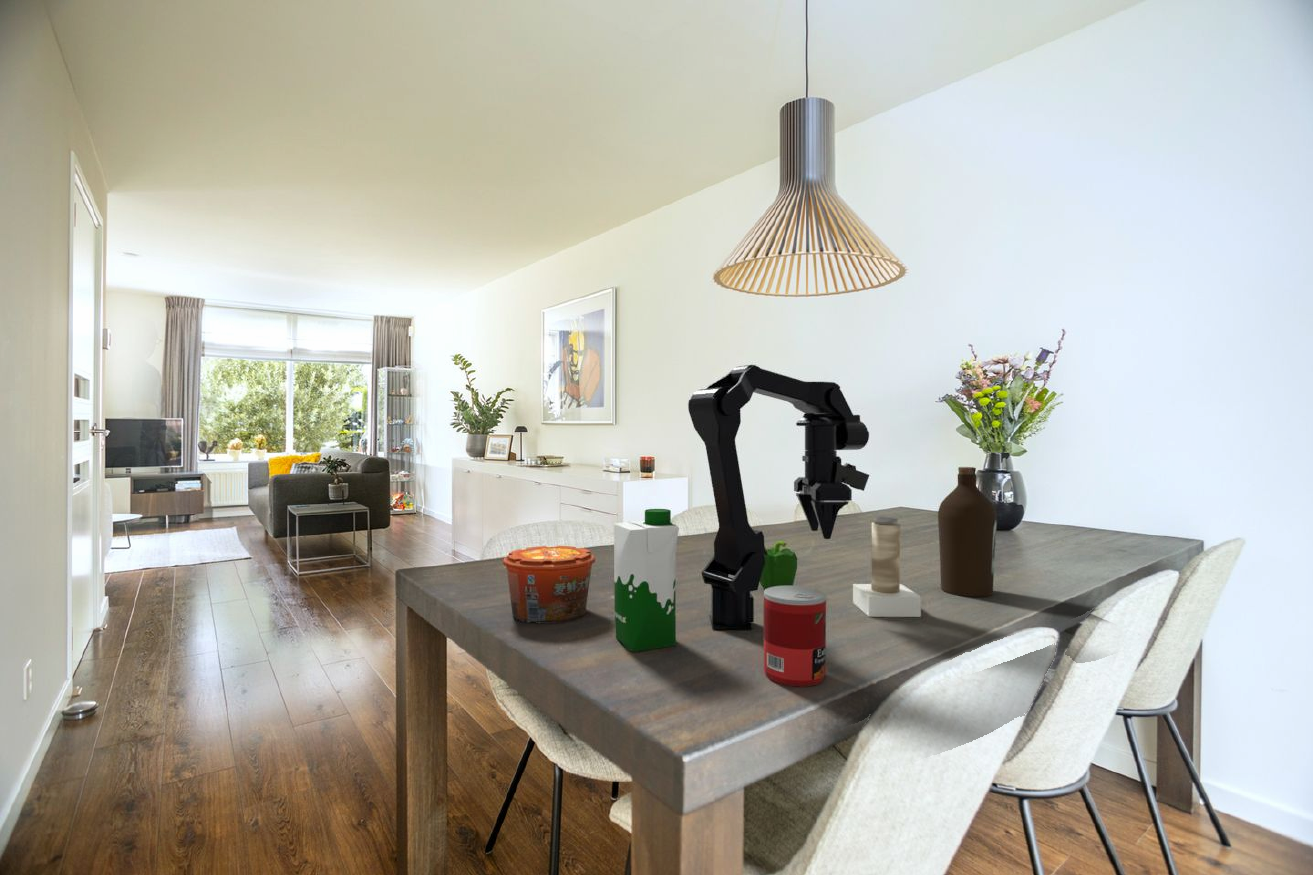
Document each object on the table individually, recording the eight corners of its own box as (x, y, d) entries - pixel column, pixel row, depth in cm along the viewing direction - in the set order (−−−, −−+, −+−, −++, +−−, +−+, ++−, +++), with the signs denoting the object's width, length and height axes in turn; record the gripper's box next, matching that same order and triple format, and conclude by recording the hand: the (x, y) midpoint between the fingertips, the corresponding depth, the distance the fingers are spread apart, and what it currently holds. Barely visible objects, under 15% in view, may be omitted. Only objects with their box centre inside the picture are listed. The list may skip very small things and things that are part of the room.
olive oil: (945, 596, 121) (945, 468, 121) (931, 583, 131) (932, 465, 131) (1004, 599, 119) (1005, 469, 119) (986, 586, 129) (986, 466, 129)
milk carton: (684, 646, 93) (684, 512, 93) (627, 655, 89) (627, 516, 89) (660, 629, 101) (660, 506, 101) (607, 637, 97) (607, 509, 97)
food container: (612, 615, 109) (612, 554, 109) (527, 633, 99) (527, 566, 99) (567, 596, 121) (567, 541, 121) (488, 610, 112) (488, 551, 112)
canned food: (827, 690, 77) (827, 601, 77) (762, 684, 79) (762, 598, 79) (823, 667, 85) (823, 586, 85) (764, 662, 86) (764, 583, 86)
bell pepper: (751, 584, 131) (751, 536, 131) (789, 583, 132) (789, 536, 132) (762, 594, 123) (762, 543, 123) (802, 593, 124) (802, 543, 124)
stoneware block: (868, 616, 108) (868, 596, 108) (852, 602, 117) (852, 583, 117) (920, 616, 108) (920, 596, 108) (900, 602, 117) (900, 584, 117)
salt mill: (886, 594, 109) (886, 520, 109) (865, 588, 113) (866, 517, 113) (905, 591, 111) (906, 518, 111) (884, 585, 116) (884, 515, 115)
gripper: (881, 452, 106) (881, 543, 106) (849, 449, 125) (849, 527, 125) (816, 452, 106) (816, 543, 106) (793, 449, 125) (793, 527, 125)
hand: (820, 534), depth 115 cm, fingers open, 9 cm apart
